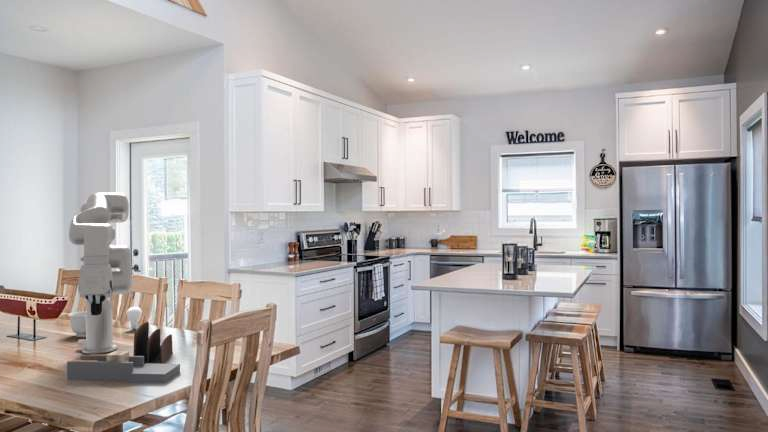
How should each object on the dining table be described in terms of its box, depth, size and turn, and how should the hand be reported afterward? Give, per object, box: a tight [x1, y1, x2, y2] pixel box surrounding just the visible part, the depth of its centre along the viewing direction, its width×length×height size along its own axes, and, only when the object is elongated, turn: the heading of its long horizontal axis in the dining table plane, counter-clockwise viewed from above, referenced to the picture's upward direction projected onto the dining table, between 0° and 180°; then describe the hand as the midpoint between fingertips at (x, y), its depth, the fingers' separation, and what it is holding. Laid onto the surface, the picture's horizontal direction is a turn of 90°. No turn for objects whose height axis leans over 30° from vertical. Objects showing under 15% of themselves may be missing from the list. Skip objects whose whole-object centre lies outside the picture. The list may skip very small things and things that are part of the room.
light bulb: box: [126, 306, 143, 331], centre depth 261 cm, size 7×7×11 cm
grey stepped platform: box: [66, 353, 181, 384], centre depth 188 cm, size 34×12×6 cm, turn 87°
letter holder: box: [132, 321, 174, 365], centre depth 208 cm, size 10×20×14 cm, turn 11°
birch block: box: [106, 350, 130, 362], centre depth 188 cm, size 5×5×5 cm
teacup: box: [67, 310, 86, 338], centre depth 248 cm, size 12×15×10 cm
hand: (96, 314), depth 188 cm, fingers closed
